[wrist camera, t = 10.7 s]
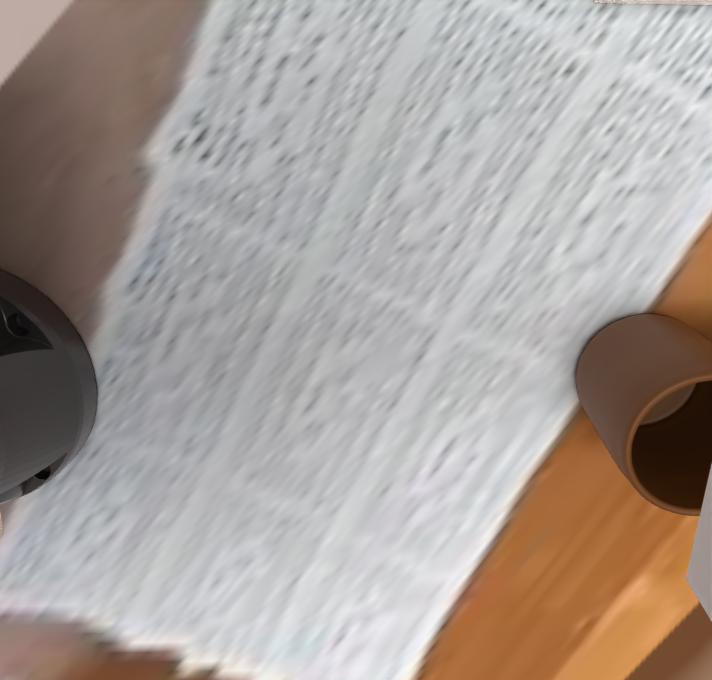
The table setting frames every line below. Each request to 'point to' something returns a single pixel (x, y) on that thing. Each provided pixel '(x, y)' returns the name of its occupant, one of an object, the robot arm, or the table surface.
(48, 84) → the table surface
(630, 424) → the mug
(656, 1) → the scale
